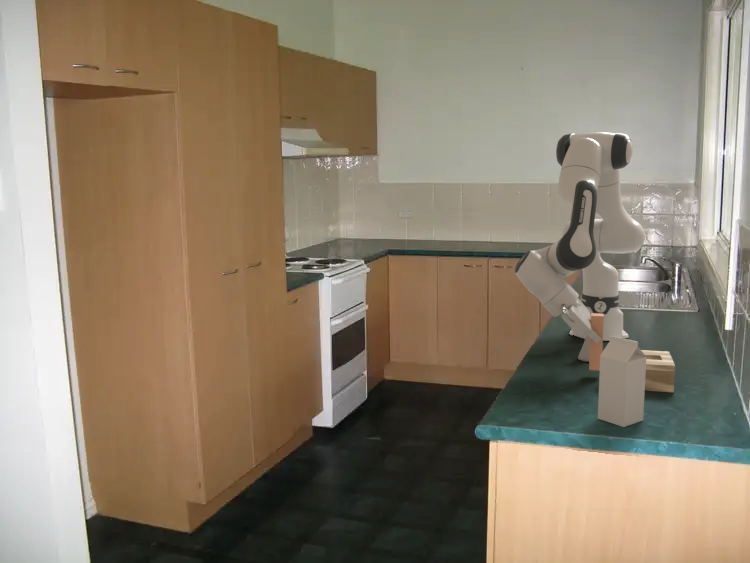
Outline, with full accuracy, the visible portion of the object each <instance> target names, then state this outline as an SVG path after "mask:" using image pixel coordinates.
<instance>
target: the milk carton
mask: <svg viewBox="0 0 750 563" xmlns="http://www.w3.org/2000/svg"><path fill="white" fill-rule="evenodd" d="M641 350H642V349H641V348H640V347H639V341H636V340H632V339H628V338H619V337H614V336H610V341H609V342H608V343H607V345H606V346H605V347H604V349H603V350H602V354H601V355H600V371H599V375H598V377H599V380H598V382H599V383H598V399H597V400H598V404H597V407H598V408H597V419H598V420H601V421H604V422H608V423H611V424H613V425H616V426H619V427H622V428H625V427H629V426H631V425H635V424H637V423H639V422H642V421H644V414H645V413H644V410H645V394H646V393H645V391H646V390H645V375H646V356H645V355H644V353H643V352H642V351H641Z"/></svg>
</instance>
